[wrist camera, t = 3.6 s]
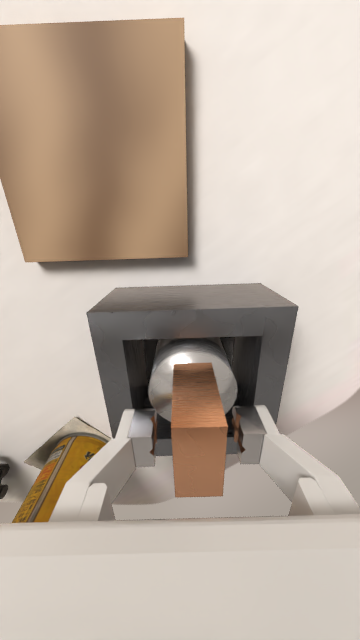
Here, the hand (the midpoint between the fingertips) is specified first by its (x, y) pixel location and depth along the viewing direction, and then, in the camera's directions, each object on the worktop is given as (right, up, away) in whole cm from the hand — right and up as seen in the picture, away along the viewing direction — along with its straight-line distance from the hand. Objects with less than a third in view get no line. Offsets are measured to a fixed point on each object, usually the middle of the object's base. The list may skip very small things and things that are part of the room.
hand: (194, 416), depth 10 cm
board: (-5, +13, +2) cm, 15 cm away
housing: (0, +2, +6) cm, 7 cm away
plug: (0, +2, +6) cm, 7 cm away
